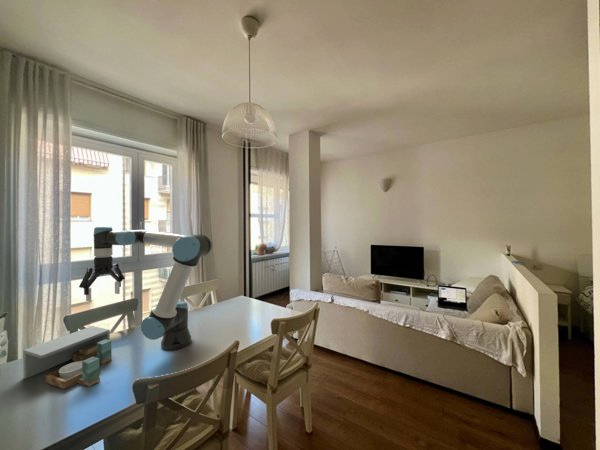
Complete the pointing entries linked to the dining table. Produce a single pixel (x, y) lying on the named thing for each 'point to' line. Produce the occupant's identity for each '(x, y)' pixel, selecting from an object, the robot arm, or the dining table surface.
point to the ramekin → (70, 370)
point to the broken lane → (97, 353)
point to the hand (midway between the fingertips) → (103, 297)
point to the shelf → (60, 349)
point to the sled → (85, 377)
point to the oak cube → (88, 350)
